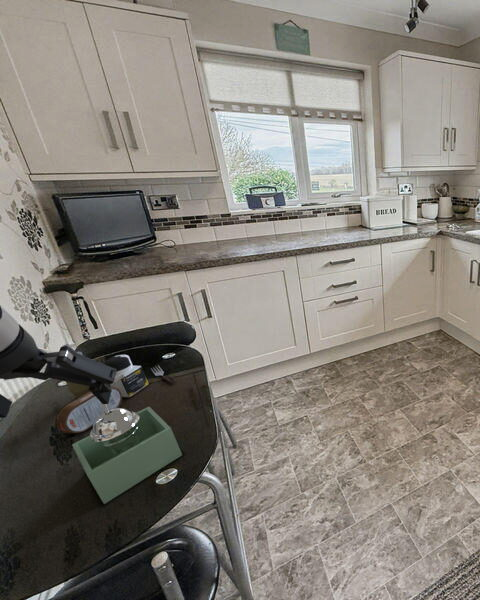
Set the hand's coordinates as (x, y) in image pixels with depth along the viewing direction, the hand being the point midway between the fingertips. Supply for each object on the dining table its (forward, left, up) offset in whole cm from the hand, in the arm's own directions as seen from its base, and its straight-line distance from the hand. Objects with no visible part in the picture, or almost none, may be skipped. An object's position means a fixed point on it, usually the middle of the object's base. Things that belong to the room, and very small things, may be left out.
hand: (59, 403), depth 58 cm
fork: (-45, +24, -24) cm, 56 cm away
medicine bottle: (-46, +15, -24) cm, 54 cm away
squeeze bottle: (-56, +7, -24) cm, 62 cm away
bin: (-7, +6, -24) cm, 26 cm away
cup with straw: (-7, +6, -23) cm, 25 cm away
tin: (-37, +5, -24) cm, 44 cm away
